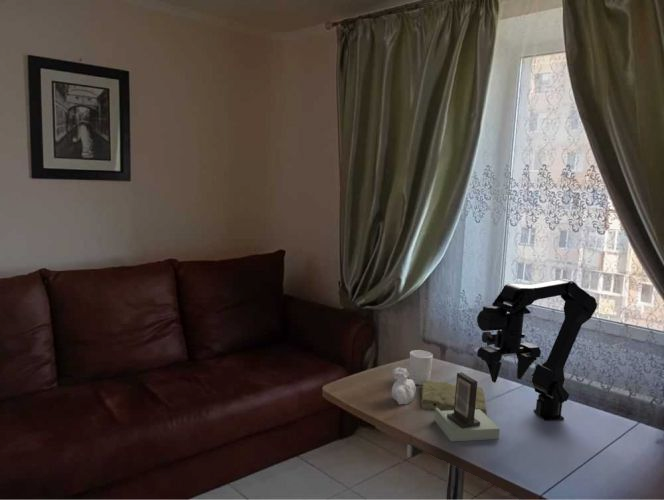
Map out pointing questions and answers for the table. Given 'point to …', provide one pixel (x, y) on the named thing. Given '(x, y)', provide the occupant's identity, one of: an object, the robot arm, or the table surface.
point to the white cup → (420, 366)
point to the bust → (403, 386)
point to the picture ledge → (472, 433)
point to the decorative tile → (446, 396)
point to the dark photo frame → (464, 402)
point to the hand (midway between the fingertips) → (506, 380)
